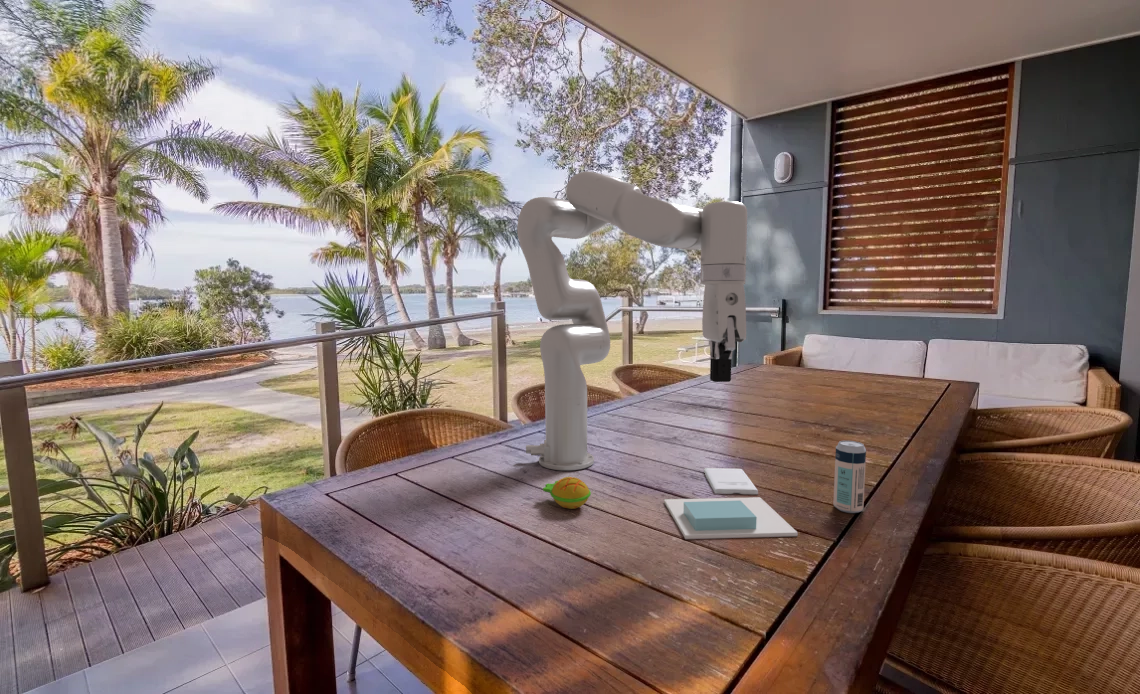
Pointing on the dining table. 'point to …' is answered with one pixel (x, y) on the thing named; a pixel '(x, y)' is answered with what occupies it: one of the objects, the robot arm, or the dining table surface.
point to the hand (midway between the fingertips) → (720, 380)
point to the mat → (765, 527)
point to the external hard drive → (729, 481)
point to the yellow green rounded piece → (569, 492)
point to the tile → (719, 515)
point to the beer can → (849, 476)
